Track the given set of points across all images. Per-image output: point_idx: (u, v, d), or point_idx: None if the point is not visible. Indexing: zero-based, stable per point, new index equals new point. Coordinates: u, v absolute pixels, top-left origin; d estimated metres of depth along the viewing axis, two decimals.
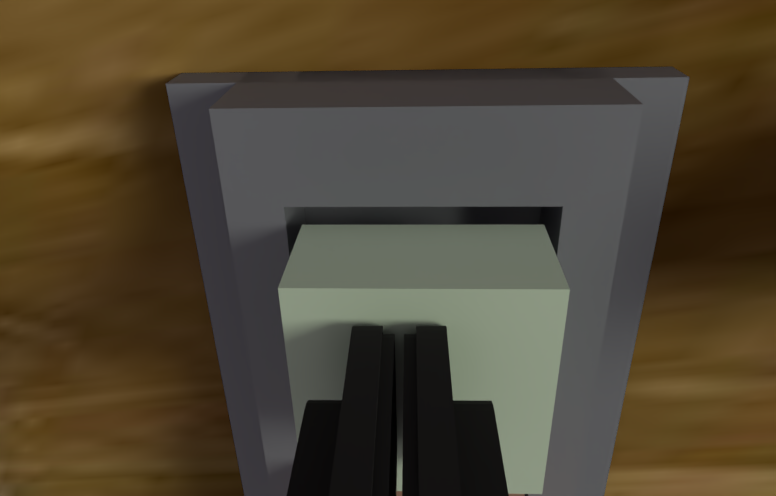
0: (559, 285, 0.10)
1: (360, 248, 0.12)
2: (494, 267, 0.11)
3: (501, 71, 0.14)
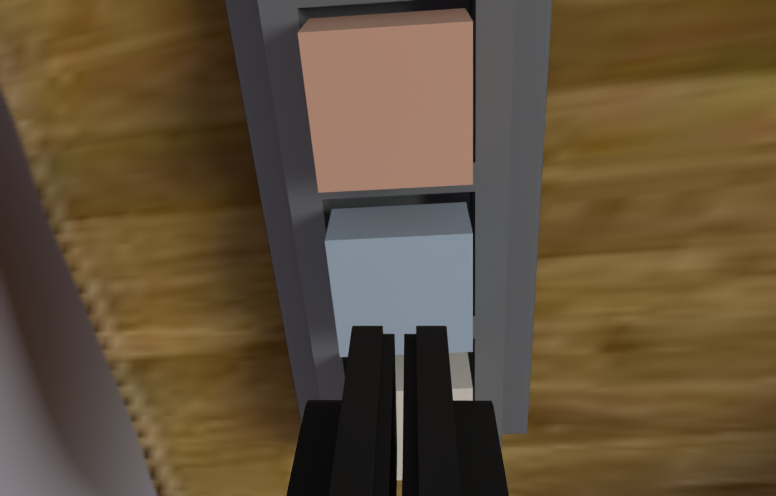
0: None
1: None
2: None
3: None
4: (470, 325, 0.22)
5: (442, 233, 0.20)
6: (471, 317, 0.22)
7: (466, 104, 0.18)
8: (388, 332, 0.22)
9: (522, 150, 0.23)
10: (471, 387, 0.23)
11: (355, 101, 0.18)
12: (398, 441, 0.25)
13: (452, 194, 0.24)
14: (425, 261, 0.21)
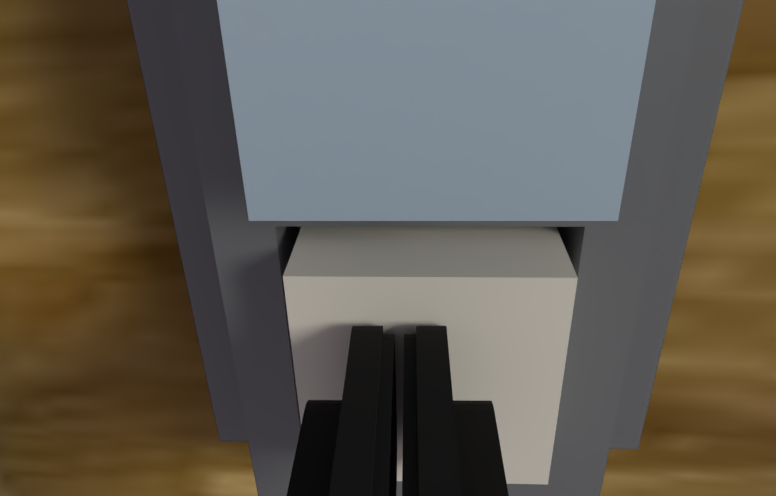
0: None
1: None
2: None
3: None
4: (626, 132, 0.07)
5: None
6: (633, 105, 0.07)
7: None
8: (385, 147, 0.08)
9: None
10: (574, 276, 0.10)
11: None
12: (398, 398, 0.11)
13: None
14: None
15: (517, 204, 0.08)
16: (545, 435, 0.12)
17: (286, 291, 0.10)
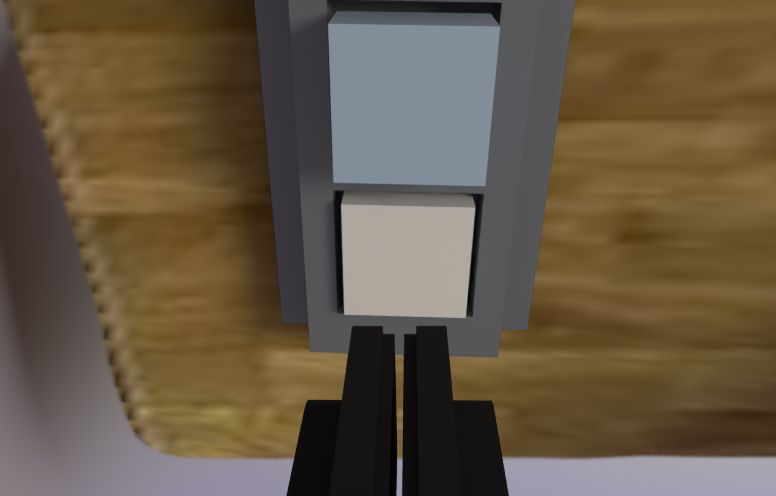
0: None
1: None
2: None
3: None
4: (486, 150, 0.19)
5: (464, 25, 0.17)
6: (488, 140, 0.19)
7: None
8: (391, 153, 0.19)
9: None
10: (473, 207, 0.22)
11: None
12: (392, 268, 0.24)
13: None
14: (442, 60, 0.18)
15: (444, 178, 0.20)
16: (463, 289, 0.24)
17: (342, 211, 0.22)
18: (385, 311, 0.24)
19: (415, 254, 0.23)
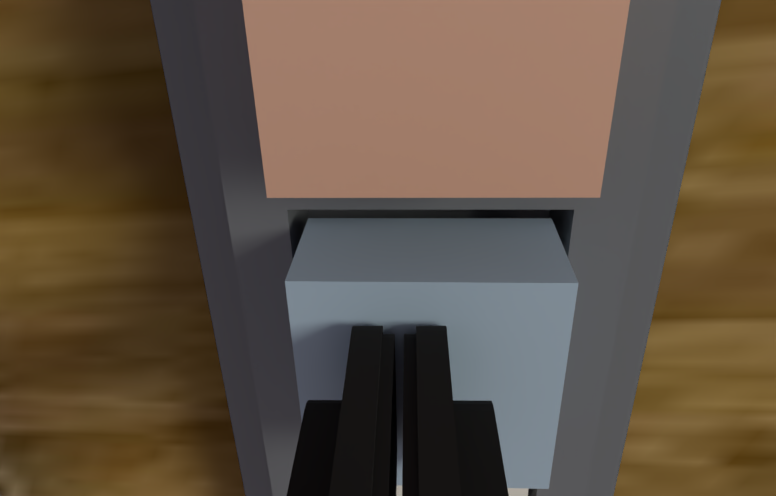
0: None
1: None
2: None
3: None
4: (550, 446, 0.12)
5: (515, 279, 0.10)
6: (554, 432, 0.12)
7: (613, 10, 0.08)
8: (398, 448, 0.12)
9: (652, 138, 0.13)
10: None
11: None
12: None
13: (520, 210, 0.14)
14: (478, 330, 0.11)
15: None
16: None
17: None
18: None
19: None
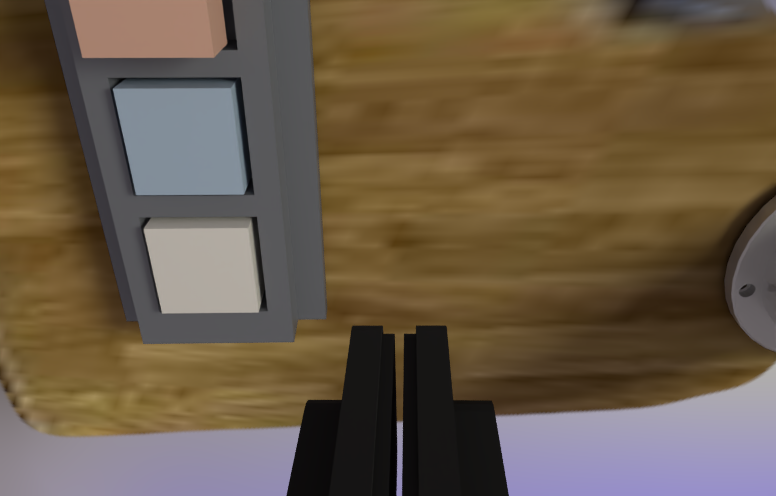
0: None
1: None
2: None
3: None
4: (239, 170, 0.27)
5: (207, 87, 0.26)
6: (239, 163, 0.27)
7: None
8: (173, 174, 0.27)
9: (292, 48, 0.27)
10: (247, 227, 0.29)
11: None
12: (193, 276, 0.30)
13: None
14: (196, 111, 0.26)
15: (214, 190, 0.28)
16: (252, 290, 0.31)
17: (145, 234, 0.29)
18: (194, 309, 0.31)
19: (209, 265, 0.30)
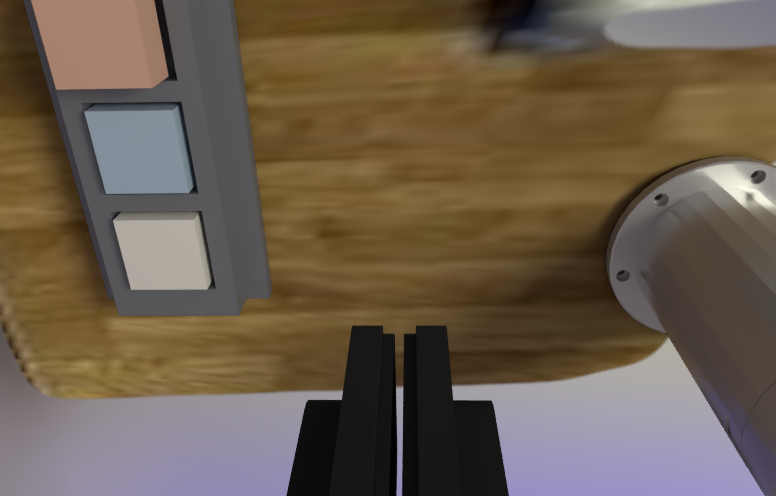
0: None
1: None
2: None
3: None
4: (183, 173, 0.35)
5: (155, 109, 0.33)
6: (183, 168, 0.35)
7: (137, 34, 0.29)
8: (133, 177, 0.35)
9: (225, 78, 0.35)
10: (193, 219, 0.36)
11: (68, 29, 0.29)
12: (153, 259, 0.38)
13: None
14: (147, 128, 0.34)
15: (165, 189, 0.35)
16: (200, 271, 0.38)
17: (114, 225, 0.37)
18: (156, 287, 0.39)
19: (165, 250, 0.37)
